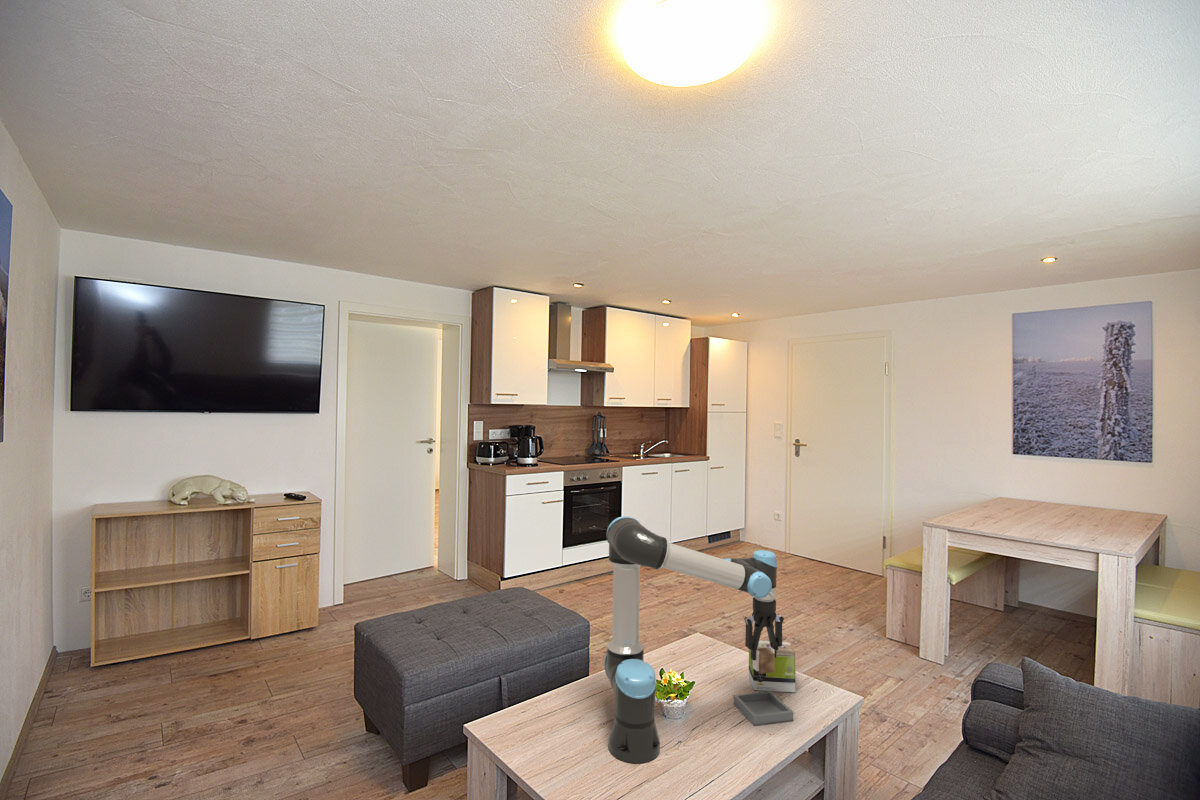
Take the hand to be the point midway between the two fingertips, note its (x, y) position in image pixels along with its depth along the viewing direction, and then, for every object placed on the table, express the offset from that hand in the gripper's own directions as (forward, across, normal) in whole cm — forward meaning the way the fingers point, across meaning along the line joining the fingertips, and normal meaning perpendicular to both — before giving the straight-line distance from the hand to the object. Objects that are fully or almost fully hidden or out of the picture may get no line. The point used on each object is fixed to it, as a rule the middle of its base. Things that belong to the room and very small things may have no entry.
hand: (763, 668), depth 186 cm
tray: (+14, 0, 0) cm, 14 cm away
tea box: (+15, +13, +16) cm, 25 cm away
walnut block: (0, 0, 0) cm, 0 cm away
